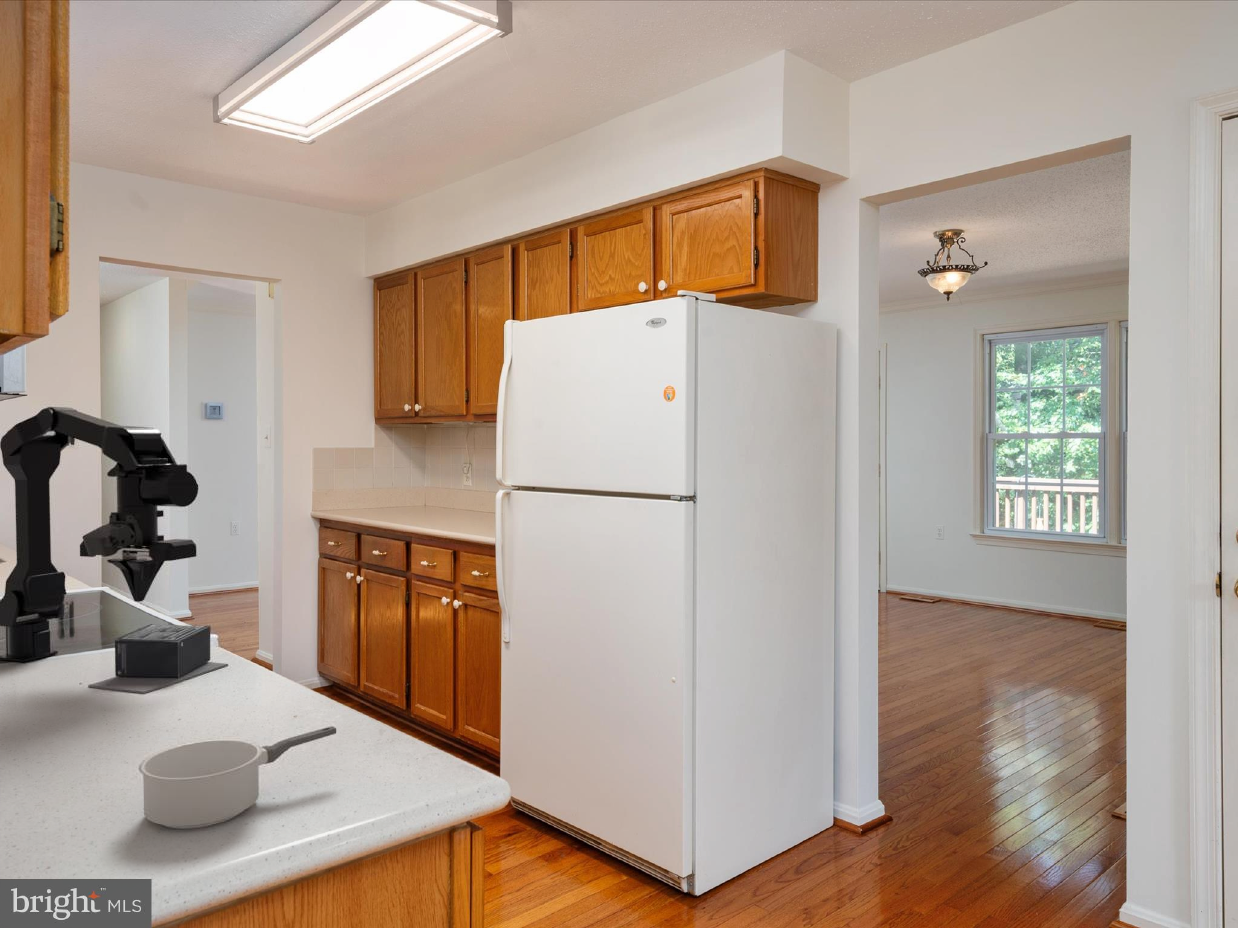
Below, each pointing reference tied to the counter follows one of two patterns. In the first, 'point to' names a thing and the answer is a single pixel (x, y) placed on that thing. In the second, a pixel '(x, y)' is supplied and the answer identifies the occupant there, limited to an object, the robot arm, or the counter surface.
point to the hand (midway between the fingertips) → (139, 601)
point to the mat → (152, 680)
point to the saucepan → (209, 779)
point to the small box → (162, 651)
